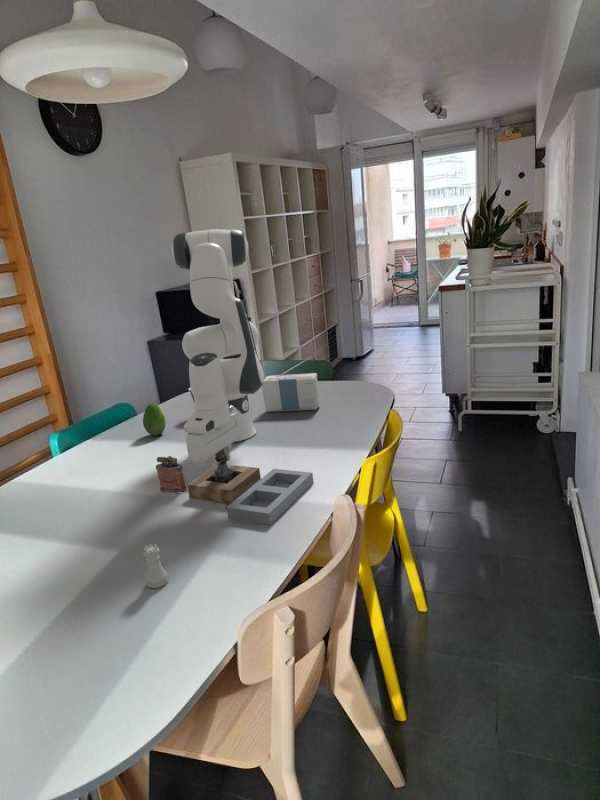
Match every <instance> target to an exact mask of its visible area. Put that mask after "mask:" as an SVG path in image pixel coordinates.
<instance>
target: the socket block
mask: <svg viewBox="0 0 600 800" xmlns="http://www.w3.org/2000/svg"><path fill="white" fill-rule="evenodd" d="M227 466H228V468H231V469H233V475H232V478H231V479H230V480H231V481H230V482H229V483H220V482H217V481H215V479H214V478H213V476H212V472H213V471H215V470H216V469H212V468H211V467H210V468H209V469H207V470H206V471H205V472H203V473H202V474H200V475H199V476H198V477H195V479H193V480H192V481H190V482H188V483H187V485H186V487H187V491H188V498H189V499H191V498H192V500H199V501H205V502H212V503H213V502H214V503H219V504H220V503H221V504H227V505H230V504H231V503H232V502H233V501H235V500H236V499H237V498H238V497H240V496H241V495H242V494H243V493H244V492H246V491H247V490H248V489H249V488H251V487H252V486H253V485H254V484H255V483H257V482H258V481H259V480H260V479H262V478H261V472H260V467H253V466H244V465H243V466H242V465H235V464H234V465H233V464H227Z"/></svg>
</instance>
